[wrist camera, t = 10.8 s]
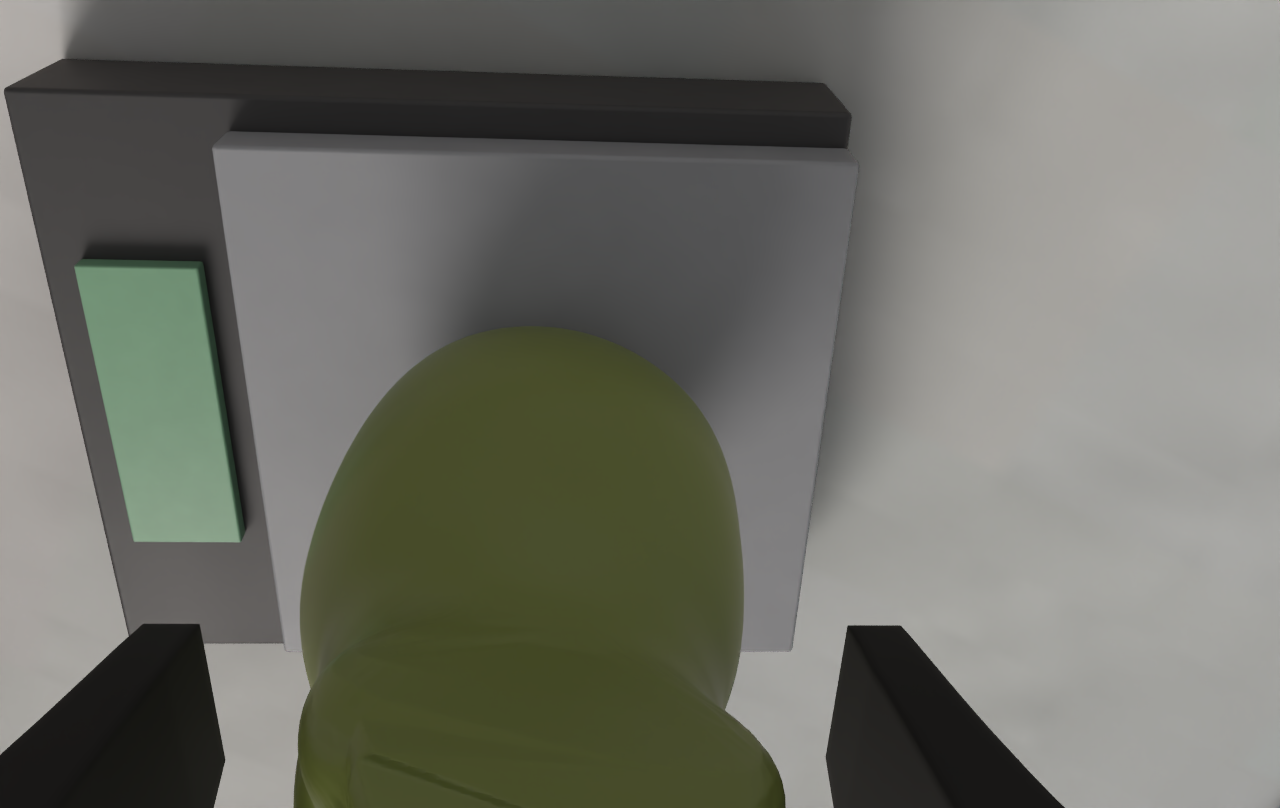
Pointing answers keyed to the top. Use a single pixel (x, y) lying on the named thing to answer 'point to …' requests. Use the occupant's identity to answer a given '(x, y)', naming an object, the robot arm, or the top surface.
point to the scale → (414, 287)
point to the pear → (528, 593)
